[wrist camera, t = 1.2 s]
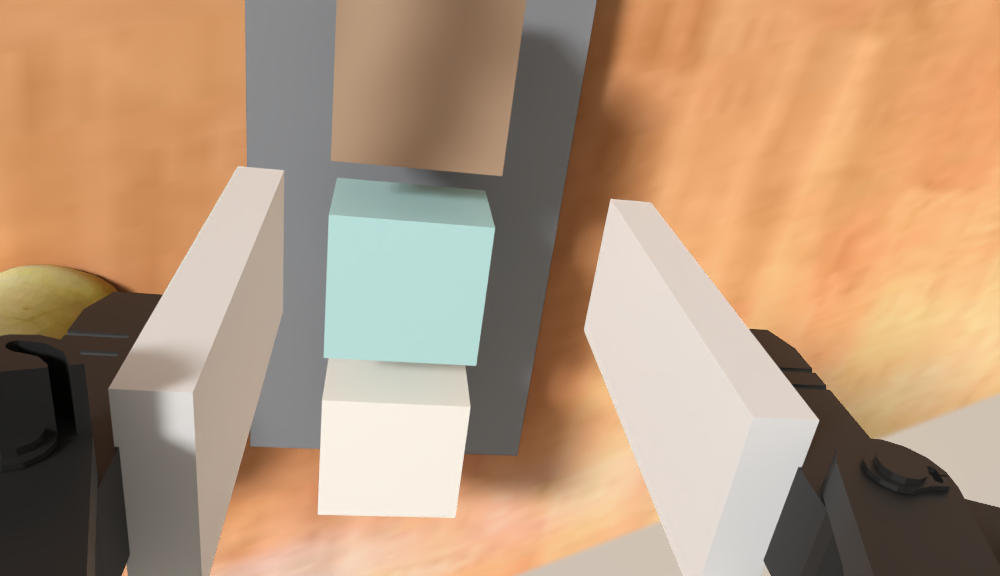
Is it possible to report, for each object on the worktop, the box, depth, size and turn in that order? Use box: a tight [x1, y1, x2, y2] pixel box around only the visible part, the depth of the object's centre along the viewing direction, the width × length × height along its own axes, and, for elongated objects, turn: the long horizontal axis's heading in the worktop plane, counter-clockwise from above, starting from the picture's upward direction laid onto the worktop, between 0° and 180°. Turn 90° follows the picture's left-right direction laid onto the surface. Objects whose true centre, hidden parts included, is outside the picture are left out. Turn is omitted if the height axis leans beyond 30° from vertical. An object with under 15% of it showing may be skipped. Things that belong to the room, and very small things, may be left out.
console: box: [245, 0, 597, 456], centre depth 36 cm, size 14×26×5 cm, turn 173°
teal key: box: [324, 178, 495, 366], centre depth 32 cm, size 6×6×4 cm
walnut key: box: [331, 0, 526, 176], centre depth 28 cm, size 6×6×4 cm
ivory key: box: [318, 358, 471, 518], centre depth 35 cm, size 6×6×4 cm
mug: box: [0, 265, 119, 339], centre depth 35 cm, size 12×10×10 cm
